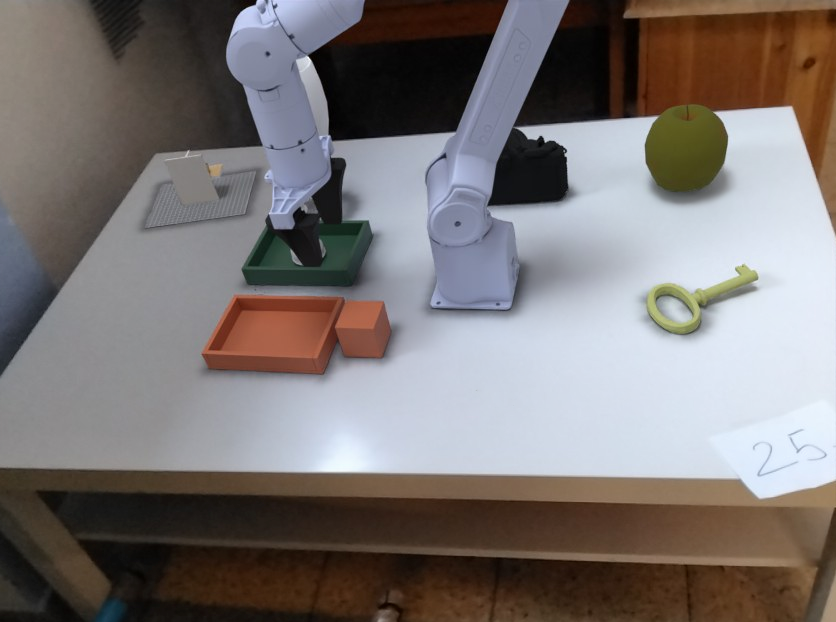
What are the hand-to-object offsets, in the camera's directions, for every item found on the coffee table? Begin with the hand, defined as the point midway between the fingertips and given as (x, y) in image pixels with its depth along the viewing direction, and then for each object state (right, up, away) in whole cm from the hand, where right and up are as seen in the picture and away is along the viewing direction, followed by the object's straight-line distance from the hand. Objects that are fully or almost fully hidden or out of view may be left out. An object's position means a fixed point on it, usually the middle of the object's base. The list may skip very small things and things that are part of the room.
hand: (323, 243), depth 93 cm
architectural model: (-22, +11, +29) cm, 38 cm away
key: (+41, -7, -3) cm, 42 cm away
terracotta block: (+5, -11, +1) cm, 12 cm away
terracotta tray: (-6, -11, +4) cm, 13 cm away
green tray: (-3, 0, +14) cm, 15 cm away
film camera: (+23, +11, +19) cm, 32 cm away
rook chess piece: (-4, 0, +14) cm, 14 cm away
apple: (+44, +10, +13) cm, 47 cm away
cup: (-2, +8, +22) cm, 23 cm away
